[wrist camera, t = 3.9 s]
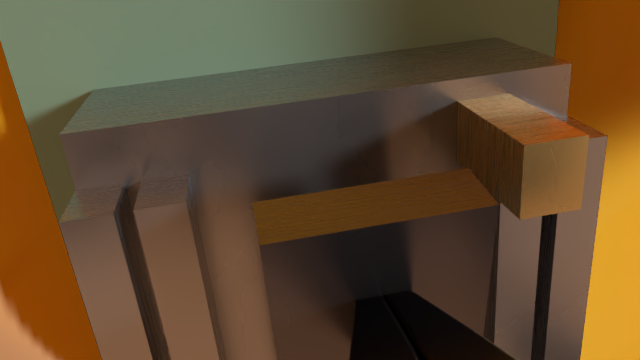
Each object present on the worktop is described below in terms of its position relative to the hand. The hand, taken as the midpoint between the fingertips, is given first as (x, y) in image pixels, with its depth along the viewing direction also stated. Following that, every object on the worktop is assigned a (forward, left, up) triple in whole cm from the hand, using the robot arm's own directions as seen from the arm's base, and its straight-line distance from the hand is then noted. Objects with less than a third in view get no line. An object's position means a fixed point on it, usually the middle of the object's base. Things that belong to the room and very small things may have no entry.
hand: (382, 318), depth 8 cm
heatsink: (-5, 0, -6) cm, 8 cm away
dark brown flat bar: (-5, 0, -2) cm, 5 cm away
